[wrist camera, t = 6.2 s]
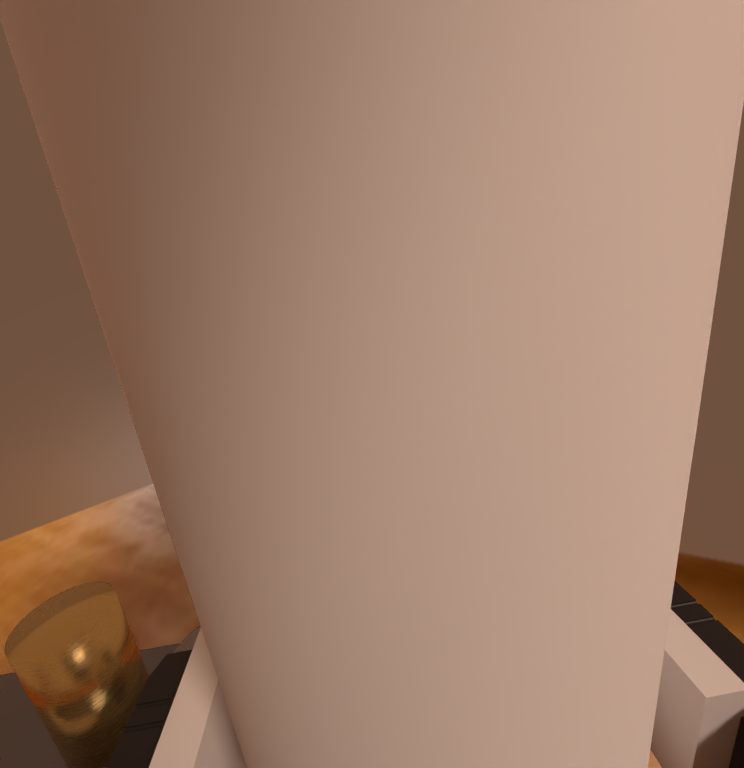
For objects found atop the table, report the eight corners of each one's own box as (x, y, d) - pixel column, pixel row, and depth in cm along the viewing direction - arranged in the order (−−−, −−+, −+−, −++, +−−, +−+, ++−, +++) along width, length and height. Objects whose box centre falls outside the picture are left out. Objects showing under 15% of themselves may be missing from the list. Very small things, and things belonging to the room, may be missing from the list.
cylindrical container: (515, 805, 16) (506, 78, 8) (667, 1214, 9) (1407, -839, 1) (341, 852, 15) (159, 106, 8) (362, 1334, 8) (-1284, -1391, 1)
